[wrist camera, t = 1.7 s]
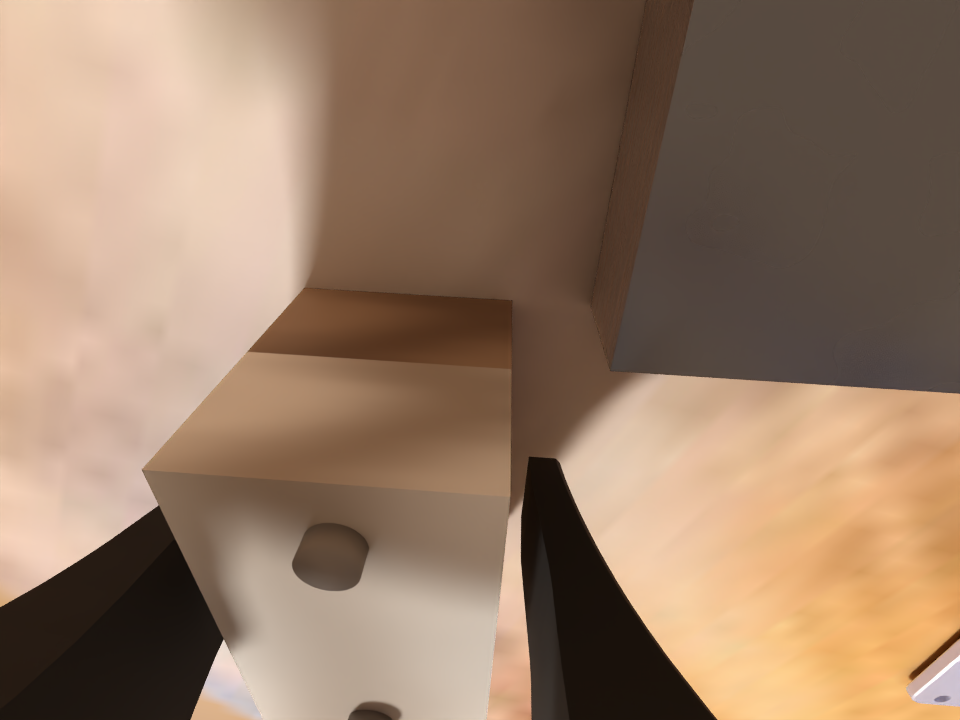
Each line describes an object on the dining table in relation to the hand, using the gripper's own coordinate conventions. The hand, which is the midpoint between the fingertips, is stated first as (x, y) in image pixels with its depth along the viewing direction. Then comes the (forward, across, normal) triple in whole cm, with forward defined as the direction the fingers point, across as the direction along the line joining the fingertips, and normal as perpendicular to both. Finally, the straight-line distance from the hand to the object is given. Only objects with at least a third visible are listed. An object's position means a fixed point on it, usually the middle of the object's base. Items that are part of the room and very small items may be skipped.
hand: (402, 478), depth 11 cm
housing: (+2, 0, 0) cm, 2 cm away
